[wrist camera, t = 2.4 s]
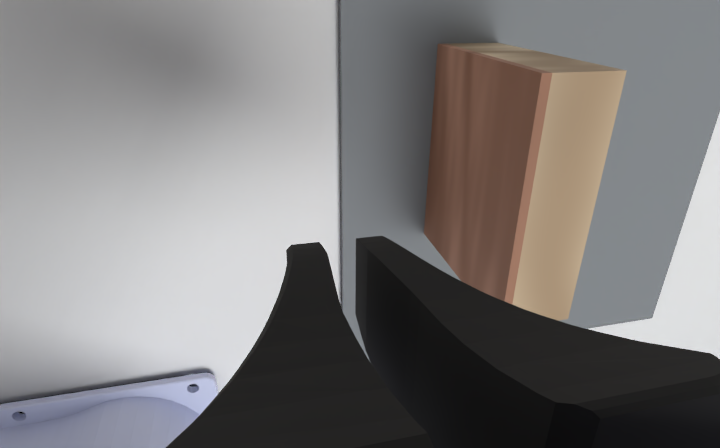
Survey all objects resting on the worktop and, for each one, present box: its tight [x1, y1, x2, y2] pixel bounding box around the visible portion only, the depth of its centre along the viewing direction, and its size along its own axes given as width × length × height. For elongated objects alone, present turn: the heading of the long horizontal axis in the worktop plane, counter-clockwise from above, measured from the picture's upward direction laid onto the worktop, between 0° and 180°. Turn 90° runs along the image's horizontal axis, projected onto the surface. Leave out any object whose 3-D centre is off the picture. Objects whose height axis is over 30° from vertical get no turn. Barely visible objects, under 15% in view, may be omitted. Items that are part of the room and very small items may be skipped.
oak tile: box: [424, 43, 627, 321], centre depth 17 cm, size 2×8×7 cm, turn 179°
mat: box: [339, 0, 720, 363], centre depth 22 cm, size 18×18×1 cm
